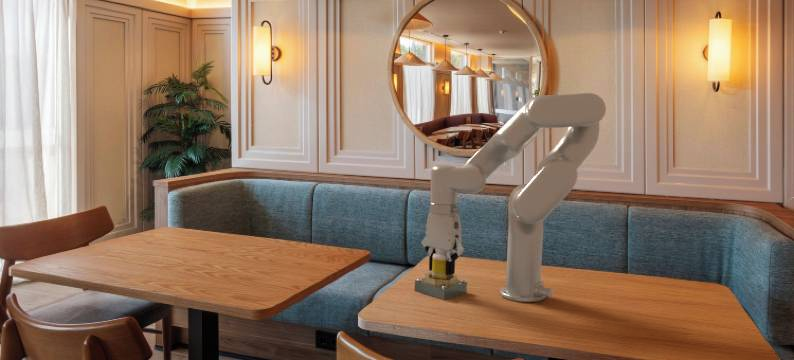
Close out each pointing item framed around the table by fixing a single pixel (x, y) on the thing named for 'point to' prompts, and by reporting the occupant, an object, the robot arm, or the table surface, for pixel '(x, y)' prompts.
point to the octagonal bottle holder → (441, 286)
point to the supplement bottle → (439, 265)
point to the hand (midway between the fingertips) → (441, 271)
